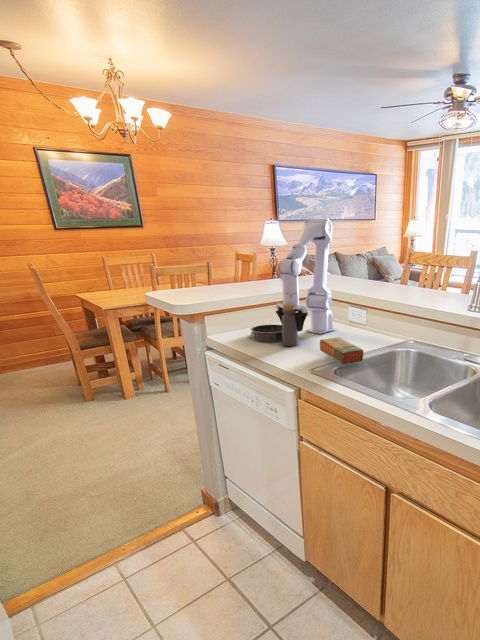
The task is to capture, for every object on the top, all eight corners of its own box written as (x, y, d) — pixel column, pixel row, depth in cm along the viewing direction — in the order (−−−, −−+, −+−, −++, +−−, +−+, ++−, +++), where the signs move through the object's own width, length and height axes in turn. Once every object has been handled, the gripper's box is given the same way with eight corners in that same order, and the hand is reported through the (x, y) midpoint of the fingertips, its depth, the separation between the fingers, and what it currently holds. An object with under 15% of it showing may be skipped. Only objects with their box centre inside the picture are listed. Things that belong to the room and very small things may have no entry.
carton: (339, 347, 149) (340, 336, 148) (363, 361, 137) (364, 349, 135) (319, 350, 145) (319, 339, 144) (342, 364, 133) (342, 352, 131)
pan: (271, 332, 176) (270, 322, 174) (297, 337, 167) (296, 327, 166) (243, 339, 165) (242, 329, 163) (269, 344, 156) (269, 334, 155)
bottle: (299, 342, 160) (298, 303, 153) (296, 346, 154) (295, 306, 148) (284, 341, 160) (283, 302, 154) (280, 345, 155) (279, 305, 148)
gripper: (269, 292, 152) (271, 328, 157) (297, 296, 144) (299, 334, 149) (282, 290, 157) (284, 325, 163) (311, 294, 149) (312, 330, 155)
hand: (292, 329), depth 156 cm, fingers open, 7 cm apart
